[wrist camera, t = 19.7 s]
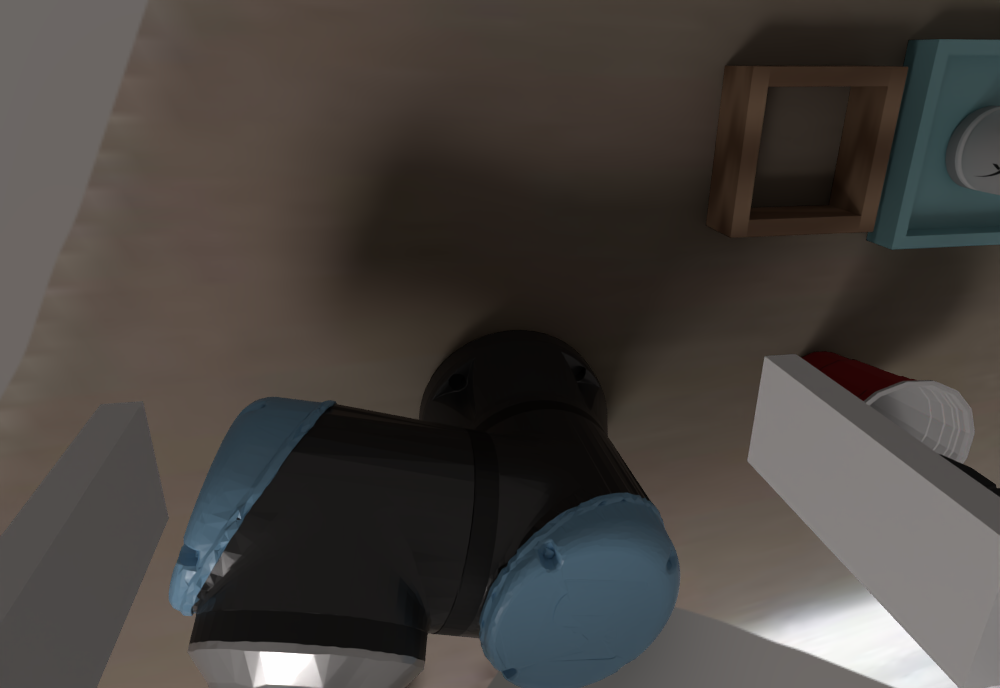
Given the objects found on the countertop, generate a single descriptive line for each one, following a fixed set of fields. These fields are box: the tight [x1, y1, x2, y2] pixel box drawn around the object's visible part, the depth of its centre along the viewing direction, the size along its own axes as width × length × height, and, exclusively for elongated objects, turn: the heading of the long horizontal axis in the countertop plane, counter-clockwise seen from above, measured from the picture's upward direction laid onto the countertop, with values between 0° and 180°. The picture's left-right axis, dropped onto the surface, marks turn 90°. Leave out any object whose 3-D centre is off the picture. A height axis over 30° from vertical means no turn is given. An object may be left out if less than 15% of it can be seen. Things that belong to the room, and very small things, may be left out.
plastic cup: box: [802, 351, 975, 464], centre depth 56 cm, size 11×11×12 cm
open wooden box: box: [706, 66, 908, 238], centre depth 51 cm, size 12×12×4 cm
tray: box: [866, 39, 1000, 250], centre depth 54 cm, size 15×15×3 cm
